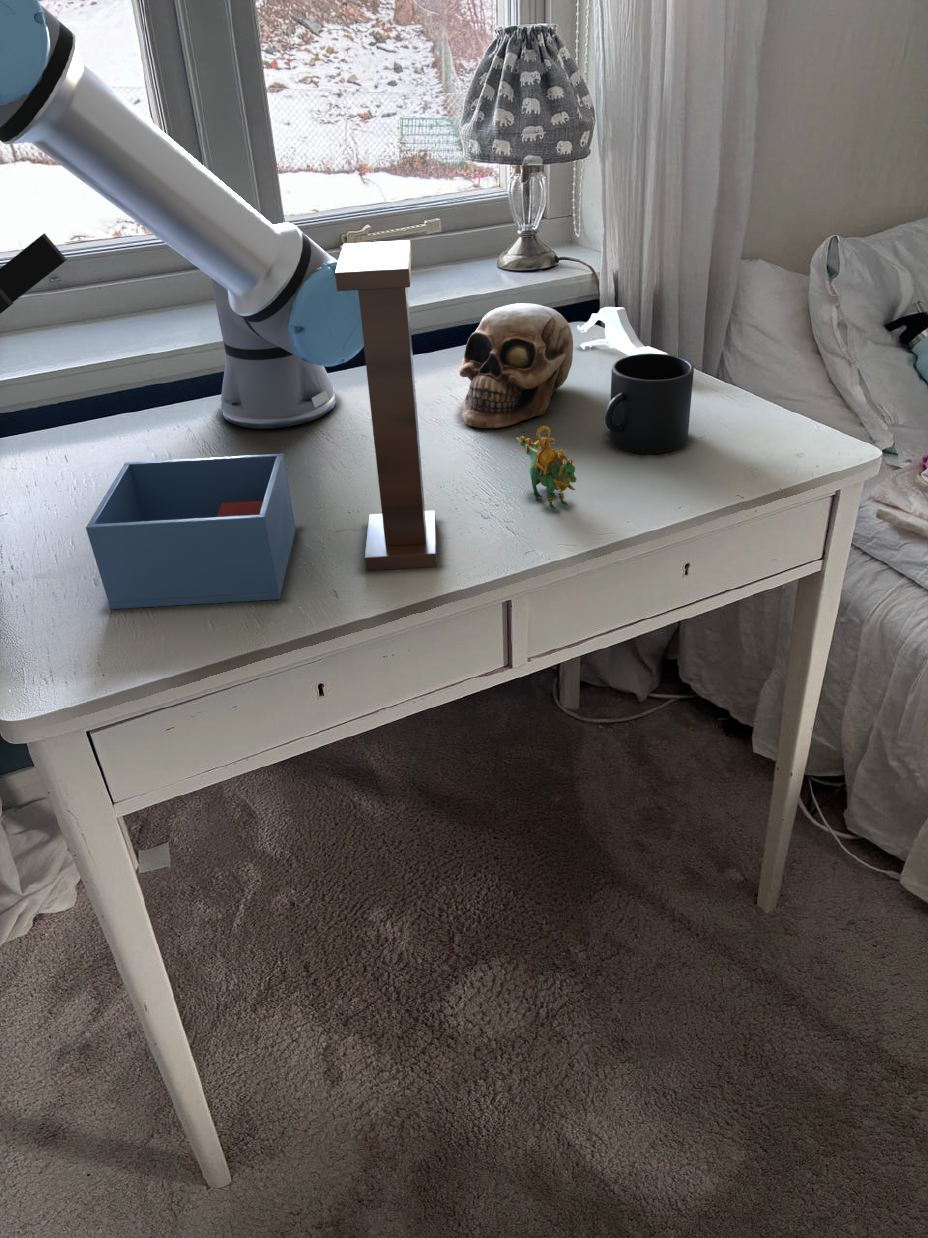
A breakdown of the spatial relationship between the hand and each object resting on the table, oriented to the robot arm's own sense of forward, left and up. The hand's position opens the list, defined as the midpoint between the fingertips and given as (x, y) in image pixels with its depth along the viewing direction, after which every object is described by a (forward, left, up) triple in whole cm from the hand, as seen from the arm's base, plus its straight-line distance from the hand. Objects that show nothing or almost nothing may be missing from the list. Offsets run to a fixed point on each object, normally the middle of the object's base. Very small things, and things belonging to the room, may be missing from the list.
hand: (28, 266), depth 79 cm
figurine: (-11, +44, -30) cm, 54 cm away
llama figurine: (-52, +59, -30) cm, 84 cm away
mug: (-24, +57, -30) cm, 69 cm away
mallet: (0, +9, -29) cm, 30 cm away
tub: (0, +9, -30) cm, 31 cm away
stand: (-2, +28, -30) cm, 41 cm away
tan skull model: (-39, +43, -30) cm, 65 cm away
